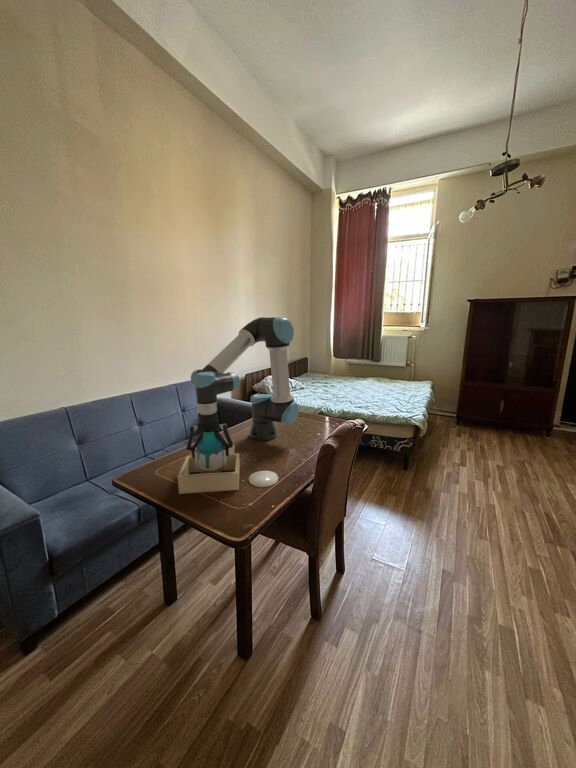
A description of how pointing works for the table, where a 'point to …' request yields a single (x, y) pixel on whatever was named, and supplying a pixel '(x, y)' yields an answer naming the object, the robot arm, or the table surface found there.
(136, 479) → the table surface
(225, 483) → the carton
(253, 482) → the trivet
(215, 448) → the vase
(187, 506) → the table surface
